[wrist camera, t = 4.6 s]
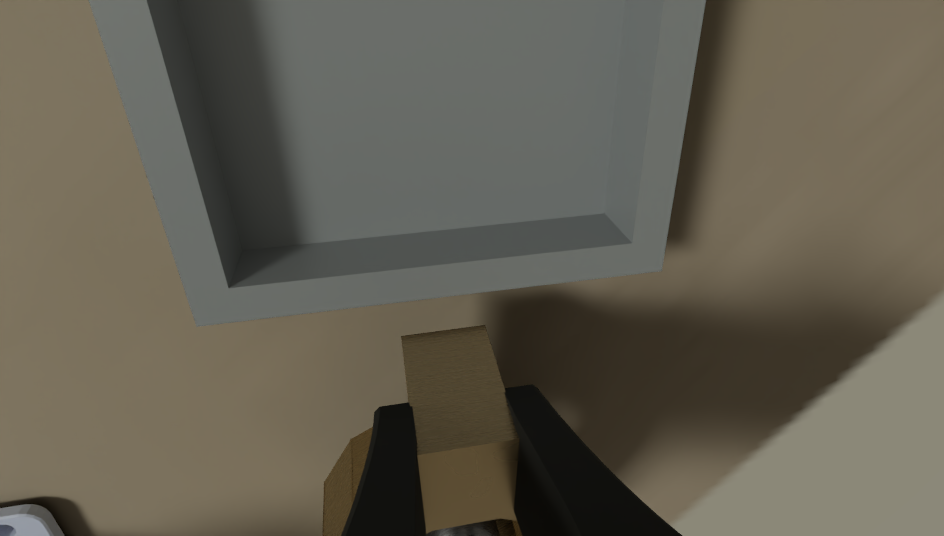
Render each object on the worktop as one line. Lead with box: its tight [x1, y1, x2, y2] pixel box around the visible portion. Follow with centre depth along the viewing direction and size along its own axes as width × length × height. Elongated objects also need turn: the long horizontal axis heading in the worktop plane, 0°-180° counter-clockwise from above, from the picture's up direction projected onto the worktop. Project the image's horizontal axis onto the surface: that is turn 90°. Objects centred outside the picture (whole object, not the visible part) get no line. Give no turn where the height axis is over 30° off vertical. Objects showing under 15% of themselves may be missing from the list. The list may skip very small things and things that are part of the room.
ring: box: [323, 325, 522, 536], centre depth 13 cm, size 6×9×3 cm
